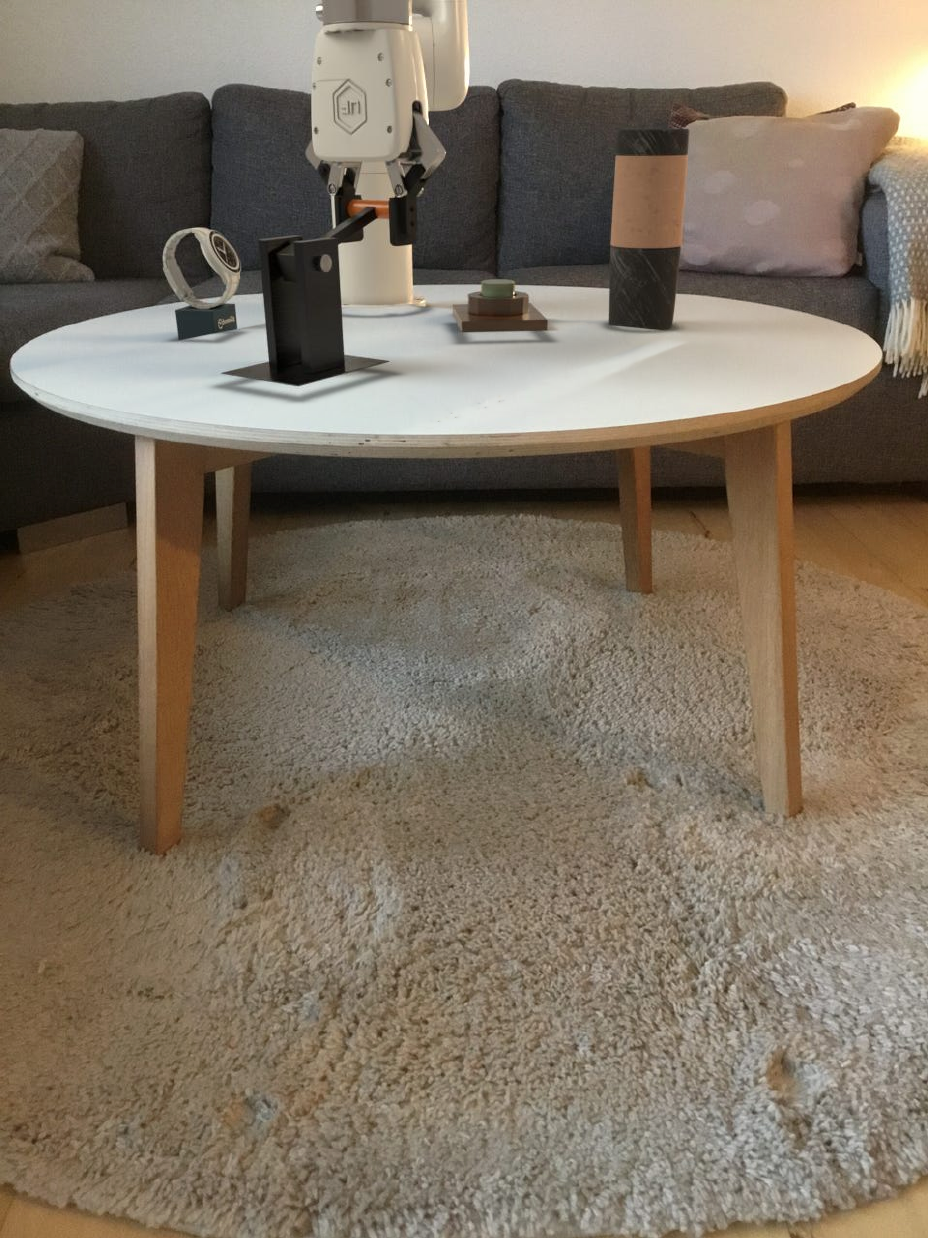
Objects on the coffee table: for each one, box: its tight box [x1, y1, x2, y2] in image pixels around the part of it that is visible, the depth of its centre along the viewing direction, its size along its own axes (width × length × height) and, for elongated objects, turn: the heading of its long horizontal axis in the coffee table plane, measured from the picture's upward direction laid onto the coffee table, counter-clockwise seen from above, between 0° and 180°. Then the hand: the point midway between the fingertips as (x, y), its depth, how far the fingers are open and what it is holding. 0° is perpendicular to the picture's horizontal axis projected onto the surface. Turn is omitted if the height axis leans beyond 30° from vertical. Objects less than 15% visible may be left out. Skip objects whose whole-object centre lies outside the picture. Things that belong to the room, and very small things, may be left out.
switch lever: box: [276, 200, 389, 282], centre depth 88 cm, size 13×6×2 cm, turn 146°
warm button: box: [480, 278, 516, 297], centre depth 109 cm, size 4×4×2 cm
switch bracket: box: [220, 235, 390, 387], centre depth 87 cm, size 12×9×12 cm
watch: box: [162, 227, 242, 341], centre depth 107 cm, size 6×8×11 cm
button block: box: [451, 290, 549, 333], centre depth 110 cm, size 12×9×4 cm
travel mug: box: [608, 128, 690, 331], centre depth 109 cm, size 8×8×20 cm
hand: (376, 241), depth 92 cm, fingers closed on switch lever, 5 cm apart
